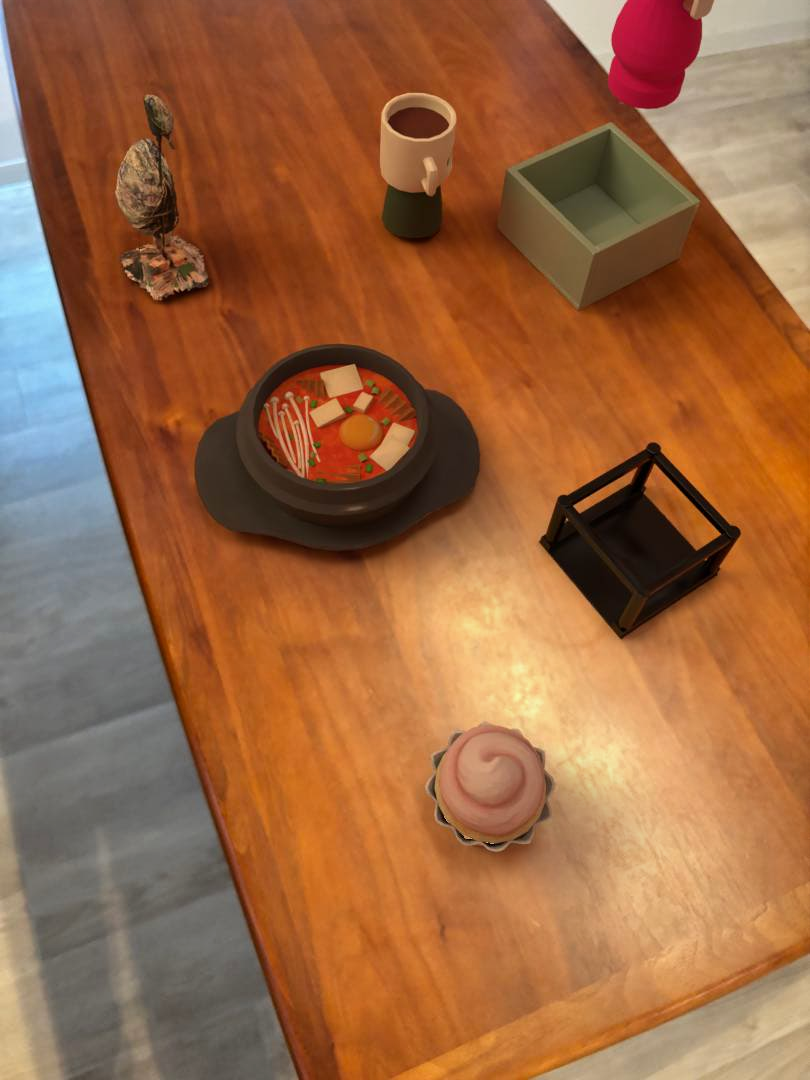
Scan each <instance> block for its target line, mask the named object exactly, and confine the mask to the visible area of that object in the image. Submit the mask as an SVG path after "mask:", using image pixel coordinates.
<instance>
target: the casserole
mask: <svg viewBox="0 0 810 1080" xmlns="http://www.w3.org/2000/svg"><path fill="white" fill-rule="evenodd" d="M480 465H481V450H480V444H479V439H478V436H477V434H476V431H475V429H474V426H473V424H472V422H471V420H470V418H469V416H468V415H467V414H466V412H465V411H464V410H463V408H462V407H461V406H460V405H459V404H458V403H457V402H456V401H455V400H454V399H452V397H450V396H448V395H446V394H445V393H442V392H440V391H437V390H433V389H427V388H424V386H423V385H422V384H421V383H420V382H419V381H418V380H417V379H416V378H415V377H414V375H413V374H412V373H411V372H410V371H409V370H408V369H407V368H406V367H405V366H404V365H402V364H401V363H399V362H398V361H396V360H395V359H394V358H392V357H391V356H389V355H386V354H384V353H383V352H381V351H380V352H379V351H377V350H375V349H372V348H369V347H364V346H361V345H358V344H349V343H348V344H347V343H327V344H326V343H325V344H320V345H314V346H309V347H305V348H303V349H300V350H298V351H294V352H292V353H290V354H289V355H287V356H285V357H284V358H281V359H280V360H278V361H276V362H275V363H274V364H273V365H272V366H271V367H269V368H268V369H267V370H266V371H265V372H264V373H263V375H262V376H261V377H260V378H259V379H258V380H257V381H256V382H255V384H254V385H253V386H252V388H250V390H249V391H248V393H247V394H246V396H245V398H244V400H243V402H242V404H241V405H240V408H239V410H237V411H235V412H233V413H230V414H228V415H225V416H223V417H220V418H218V419H216V420H215V421H214V422H213V423H212V424H210V425H209V426H208V427H207V428H206V429H205V431H204V432H203V434H202V436H201V438H200V440H199V443H198V445H197V448H196V453H195V457H194V479H195V484H196V488H197V492H198V496H199V498H200V500H201V502H202V504H203V506H204V509H205V510H206V512H207V513H208V514H209V515H210V516H211V518H212V519H213V520H214V521H215V522H216V523H217V524H219V526H220V525H221V526H222V527H224V528H226V529H227V530H229V531H231V532H238V533H246V534H255V535H262V536H269V537H274V538H277V539H281V540H283V541H287V542H291V543H293V544H298V545H301V546H304V547H307V548H310V549H316V550H323V551H324V550H325V551H334V552H337V551H339V552H340V551H348V550H349V551H351V550H353V551H354V550H360V549H364V548H369V547H373V546H377V545H380V544H382V543H385V542H387V541H389V540H391V539H394V538H397V537H398V536H399V535H401V534H403V533H404V532H406V531H407V530H409V529H410V528H411V527H413V526H414V525H415V524H417V523H418V522H420V521H421V520H422V519H424V518H425V517H426V516H428V515H430V514H431V513H434V512H436V511H438V510H440V509H442V508H445V507H447V506H450V505H452V504H454V503H455V502H457V501H459V500H461V499H463V498H465V497H466V496H467V495H468V494H469V493H470V492H471V491H472V490H473V488H474V487H475V486H476V482H477V480H478V477H479V473H480Z"/></svg>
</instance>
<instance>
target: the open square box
mask: <svg viewBox="0 0 810 1080" xmlns="http://www.w3.org/2000/svg"><path fill="white" fill-rule="evenodd" d="M503 179H504V180H503V185H502V192H501V199H500V205H499V211H498V216H497V221H496V222H497V223H496V228H497V230H498V231H499V232H500V233H501V234H502V235H503V236H504V237H505V238H506V239H507V241H509V242H510V243H511V244H512V245H513V246H514V247H515V248H516V249H517V250H518V251H519V252H520V253H521V254H522V255H523V256H524V257H525V259H527V260H528V261H529V262H530V264H532V265H533V267H535V269H537V270H538V271H539V273H540V274H542V276H543V277H545V279H546V280H547V281H549V283H550V284H551V285H552V286H553V287H554V288H555V289H556V290H557V291H558V292H559V293H560V294H561V295H562V296H563V297H564V298H565V299H566V300H567V301H568V302H569V303H570V304H571V305H572V306H573V307H574V308H575V309H576V310H577V311H581V310H582V309H584V308H586V307H588V306H590V305H592V304H593V303H596V302H598V301H599V300H601V299H603V298H605V297H607V296H609V295H612V294H614V293H615V292H617V291H619V290H621V289H623V288H625V287H626V286H629V285H630V284H632V283H634V282H636V281H638V280H640V279H642V278H644V277H646V276H648V275H650V274H651V273H654V272H656V271H657V270H659V269H661V268H664V267H665V266H667V265H669V264H671V263H673V262H674V261H676V260H679V259H680V256H681V253H682V251H683V249H684V246H685V243H686V240H687V238H688V236H689V233H690V230H691V227H692V225H693V222H694V219H695V218H696V214H697V211H698V210H699V206H700V204H701V200H700V199H699V198H697V196H696V195H695V194H693V193H692V192H691V191H690V190H689V189H687V187H686V186H684V185H683V184H682V183H681V182H680V181H678V180H677V178H675V177H674V176H673V175H672V174H671V173H669V171H668V170H666V169H665V168H664V167H663V166H662V165H660V164H659V163H658V162H657V161H656V160H655V159H654V158H652V156H650V155H649V154H648V153H647V152H646V151H645V150H644V149H642V148H641V147H640V146H639V145H638V144H637V143H636V142H634V141H633V140H632V139H631V138H630V136H628V135H627V134H625V133H624V132H623V131H622V130H621V129H620V128H619V127H618V126H616V125H615V123H613V122H612V121H610V122H607V123H605V124H603V125H601V126H598V127H596V128H593V129H592V130H590V131H587V132H585V133H583V134H581V135H578V136H577V137H574V138H572V139H570V140H568V141H565V142H563V143H560V144H559V145H556V146H554V147H551V148H549V149H548V150H545V151H543V152H540V153H539V154H536V155H534V156H532V157H530V158H527V159H525V160H523V161H521V162H519V163H515V164H514V165H512V166H510V167H507V168H506V169H505V173H504V178H503Z"/></svg>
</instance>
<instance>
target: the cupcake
mask: <svg viewBox="0 0 810 1080" xmlns="http://www.w3.org/2000/svg"><path fill="white" fill-rule="evenodd" d="M546 757H547V755H546V751H545V750H543V749H541V748H539V747H536V746H533V745H532V743H531V741H529V740H528V739H527V738H526V737H525V736H524V735H523V733H522V731H521V730H520V728H508V727H505V726H501V725H494V724H491V723H490V722H488V721H486V720H485V721H482V722H481V723H479V725H477V726H476V727H472V728H470V729H468V730H461V729H457V730H456V729H454V730H453V731H452V732H451V733H450V735H449V740H448V742H447V746H446V747H443V748H441V749H438V750H435V751H434V752H432V753H431V754H430V763H431V767H432V771H433V773H432V775H431V776H430V777H429V778H428V780H427V781H426V783H425V785H424V790H425V791H426V794H427V795H428V796H429V797H430V798H431V799H432V800H433V802H434V803H435V806H434V813H433V816H434V821H435V822H436V823H437V824H438V825H440V826H443V827H446V828H449V829H450V830H451V831H452V832H453V833H454V835H455V838H456V840H457V841H458V842H459V843H460V844H461V845H463V846H468V847H470V846H480V847H483V848H486V849H487V850H488V851H490V852H496V853H497V852H501V851H504V850H505V849H506V848H507V847H508V846H509V845H510V844H511V843H513V844H519V845H526V844H531V842H532V840H533V838H534V835H535V831H536V827H537V826H539V825H541V824H544V823H547V822H549V821H550V820H551V819H553V810H552V807H551V804H550V802H549V801H550V800H549V798H550V797H551V796H552V794H553V793H554V792H555V788H556V782H555V779H554V777H553V776H552V775H551V774H550V773H549V772H548V771H547V770H546V769H545V768H546ZM444 816H445V818H446V819H447V821H448V822H449V823H448V822H447V821H446V819H445V818H444ZM462 834H463V835H466V836H468V837H470V838H472V839H465V838H464V836H463V835H462ZM486 842H488V843H486ZM490 843H494V844H490Z"/></svg>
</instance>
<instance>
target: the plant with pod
mask: <svg viewBox="0 0 810 1080" xmlns="http://www.w3.org/2000/svg"><path fill="white" fill-rule="evenodd" d="M142 99H143V100H142V101H143V105H144V110H145V115H146V117H147V118H146V120H147V123H148V127H149V131H150V132H151V135H153V136H155V140H156V142H157V145H156V143H155V140H154V139H153V138H143V137H142V139H140V140H138V141H136V142H134V143H132V144H131V146H130V148H129V150H127V151H126V155H125V156H124V158H123V159H122V162H121V164H120V166H119V169H118V172H117V176H116V177H117V178H116V188H115V191H114V193H115V197H116V201H117V204H118V206H119V209H120V211H121V212H122V214H123V215H124V217H125V218H126V219H127V221H128V222H129V223H130V224H131V226H132V228H134V229H136V231H138V232H140V233H141V234H143V235H145V236H152V241H153V242H154V243H153V244H152V245H150V244H149V243H147V244H146V245H145V244H144V245H142V246H139V247H140V248H142V249H140V250H139V247H136V249H128V251H127V250H126V251H125V252H123V253H122V254H121V256H119V258H120V259H119V260H120V264H122V266H123V268H124V273H125V274H126V275H127V276H126V277H127V278H129V280H132V281H134V282H135V283H139V288H142V289H146V292H147V293H149V295H150V296H151V297H152V300H154V301H163V300H164V298H165V299H168V297H169V296H170V295H175V291H176V292H177V293H180V291H182V292H183V291H185V290H187V291H188V292H190V291H191V289H194V290H195V287H196V288H199V289H201V288H206V287H207V286H208V284H209V282H210V279H211V277H210V276H209V274H208V272H207V270H206V266H205V263H204V258H203V257H204V254H202V251H201V249H200V248H197V246H195V244H192V243H187V241H186V240H184V239H183V237H179V234H177V235H176V234H174V232H175V229H176V227H177V225H178V224H179V221H180V219H179V217H180V213H179V210H178V203H177V192H176V189H175V185H176V183H175V181H174V176H173V173H172V172H171V171H170V167H169V164H168V162H167V159H166V157H165V154H164V153H163V149H162V148H163V147H162V146H163V145H162V142H163V137H164V138H165V139H166V140H167V143H168V146H169V147H170V149H172V150H175V149H176V147H175V145H174V143H173V142H172V138H171V134H172V133H173V130H174V127H175V126H174V116H173V114H172V111H171V109H170V108H169V107H168V105H167V104H166V103H165V102H164V101H163V100H162V99H161V97H158V96H157V95H154V94H145V95H144V96H143V97H142Z"/></svg>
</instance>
